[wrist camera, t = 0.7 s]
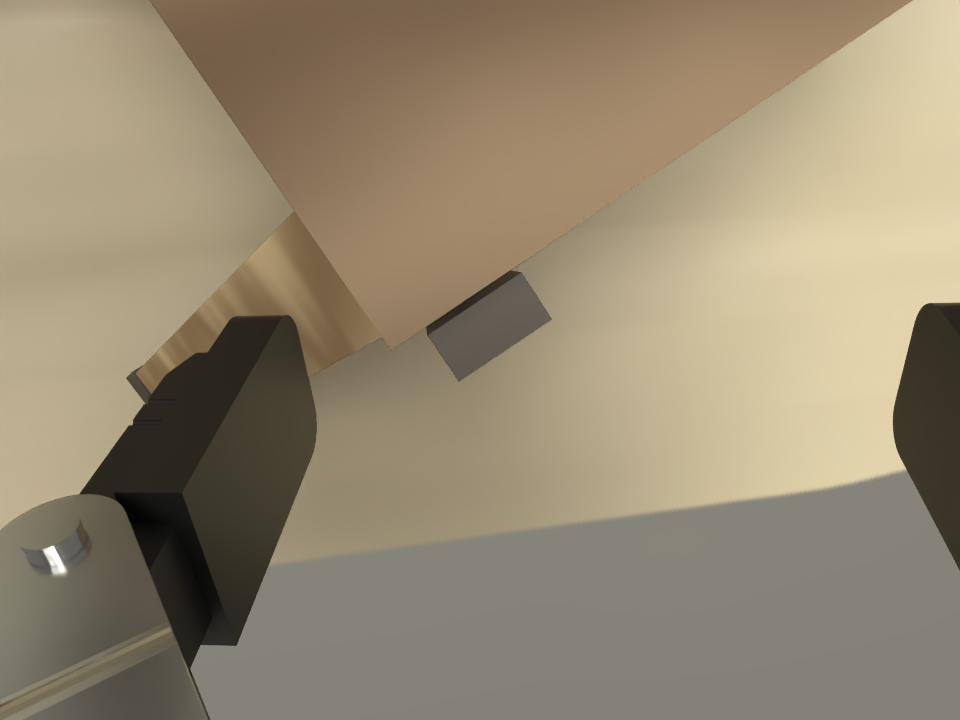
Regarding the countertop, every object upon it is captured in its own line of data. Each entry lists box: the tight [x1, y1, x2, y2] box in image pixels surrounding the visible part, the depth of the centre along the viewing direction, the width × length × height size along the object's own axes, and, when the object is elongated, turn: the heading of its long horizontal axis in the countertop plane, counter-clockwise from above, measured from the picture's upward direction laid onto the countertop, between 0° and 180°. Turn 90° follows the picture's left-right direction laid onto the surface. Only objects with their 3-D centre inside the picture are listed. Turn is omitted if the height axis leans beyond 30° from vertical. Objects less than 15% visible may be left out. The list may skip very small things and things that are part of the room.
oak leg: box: [127, 211, 381, 404], centre depth 23 cm, size 3×3×18 cm
